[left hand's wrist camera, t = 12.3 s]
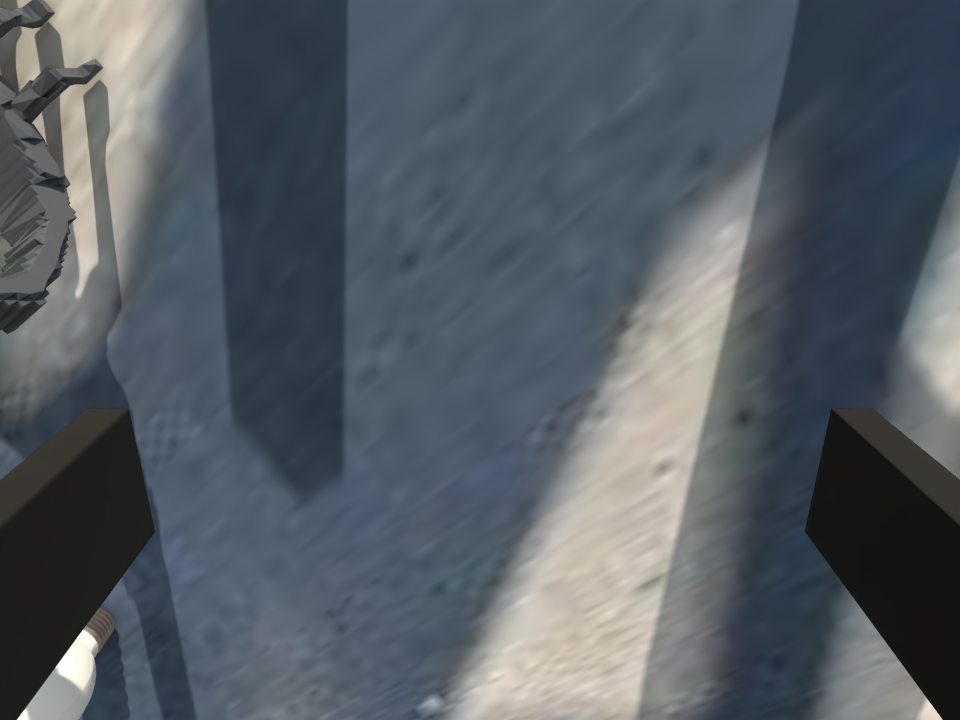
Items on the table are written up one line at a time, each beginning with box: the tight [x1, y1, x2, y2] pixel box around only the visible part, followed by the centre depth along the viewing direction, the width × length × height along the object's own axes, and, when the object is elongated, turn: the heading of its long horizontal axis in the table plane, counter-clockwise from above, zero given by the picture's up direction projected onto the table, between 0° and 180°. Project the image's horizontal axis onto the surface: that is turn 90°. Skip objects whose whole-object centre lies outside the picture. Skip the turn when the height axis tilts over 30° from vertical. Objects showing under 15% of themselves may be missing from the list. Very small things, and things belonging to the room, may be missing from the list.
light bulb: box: [17, 608, 115, 720], centre depth 49 cm, size 7×7×11 cm
